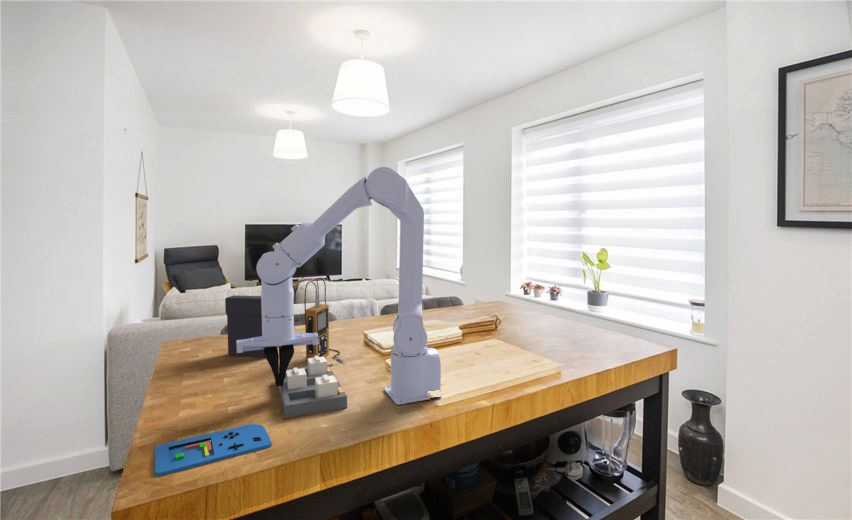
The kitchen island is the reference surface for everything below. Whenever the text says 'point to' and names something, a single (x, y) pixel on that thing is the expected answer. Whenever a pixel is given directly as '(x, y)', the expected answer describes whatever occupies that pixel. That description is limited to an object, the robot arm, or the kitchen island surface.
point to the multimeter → (318, 327)
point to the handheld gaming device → (209, 448)
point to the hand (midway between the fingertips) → (279, 384)
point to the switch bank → (310, 397)
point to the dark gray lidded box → (243, 322)
